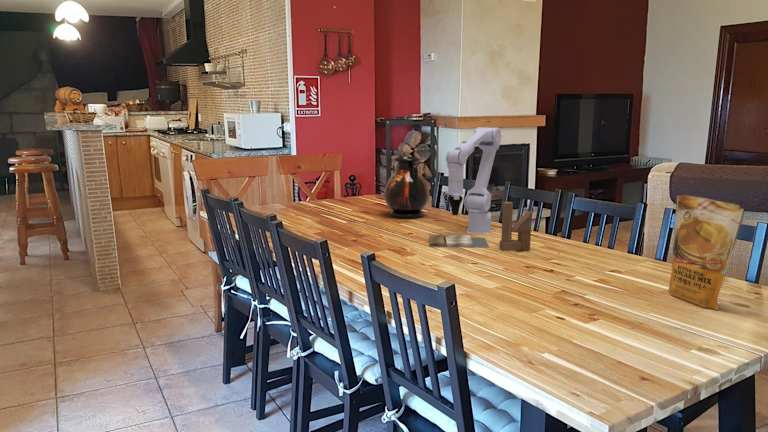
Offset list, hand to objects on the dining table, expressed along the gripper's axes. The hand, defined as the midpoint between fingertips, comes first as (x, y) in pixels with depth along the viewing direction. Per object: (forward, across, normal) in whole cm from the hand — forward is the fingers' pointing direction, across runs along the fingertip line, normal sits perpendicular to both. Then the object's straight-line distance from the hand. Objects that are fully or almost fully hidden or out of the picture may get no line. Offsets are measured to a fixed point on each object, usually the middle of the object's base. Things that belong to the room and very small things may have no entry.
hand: (455, 215), depth 226 cm
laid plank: (+10, +7, -7) cm, 14 cm away
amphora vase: (+10, -49, -20) cm, 54 cm away
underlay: (+10, +7, +1) cm, 12 cm away
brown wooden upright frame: (+10, +16, +21) cm, 28 cm away
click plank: (+9, +7, +1) cm, 12 cm away
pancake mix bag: (+10, +69, +61) cm, 93 cm away
